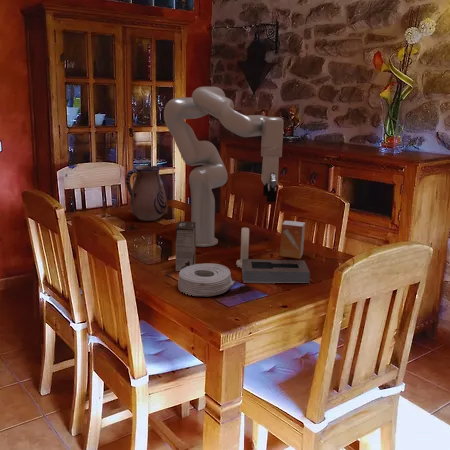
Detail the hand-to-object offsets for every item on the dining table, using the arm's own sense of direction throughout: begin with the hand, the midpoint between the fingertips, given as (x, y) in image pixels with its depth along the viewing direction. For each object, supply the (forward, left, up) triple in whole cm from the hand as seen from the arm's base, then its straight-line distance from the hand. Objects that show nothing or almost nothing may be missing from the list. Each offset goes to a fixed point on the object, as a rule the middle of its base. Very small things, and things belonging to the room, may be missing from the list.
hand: (269, 198), depth 194 cm
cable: (-23, -30, -24) cm, 44 cm away
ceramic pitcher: (-53, +54, -24) cm, 79 cm away
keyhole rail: (+1, -19, -23) cm, 30 cm away
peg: (-9, -8, -23) cm, 26 cm away
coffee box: (-30, -12, -24) cm, 40 cm away
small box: (+10, +5, -24) cm, 26 cm away
